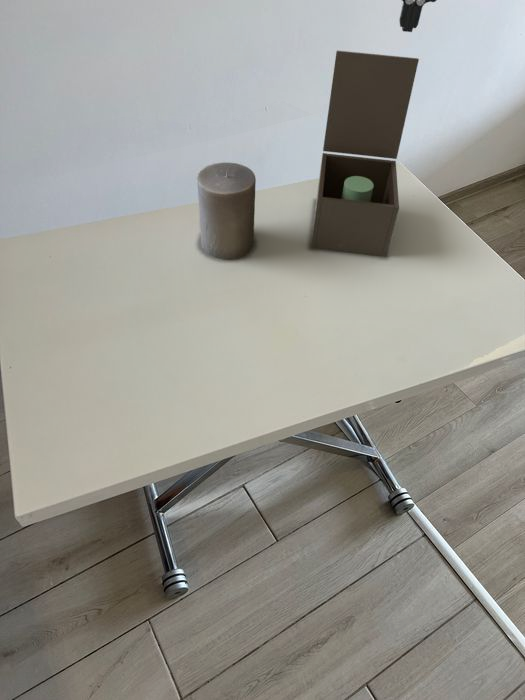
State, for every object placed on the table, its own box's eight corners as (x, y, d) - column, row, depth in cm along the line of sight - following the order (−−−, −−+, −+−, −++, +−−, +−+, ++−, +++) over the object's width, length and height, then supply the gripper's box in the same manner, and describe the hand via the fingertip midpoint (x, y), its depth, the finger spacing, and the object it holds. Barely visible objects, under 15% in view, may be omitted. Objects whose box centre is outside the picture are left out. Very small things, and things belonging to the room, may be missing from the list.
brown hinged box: (385, 259, 96) (399, 208, 88) (310, 250, 97) (317, 198, 89) (383, 210, 106) (395, 160, 98) (315, 203, 107) (322, 152, 99)
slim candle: (367, 223, 102) (377, 181, 95) (358, 237, 99) (368, 194, 92) (342, 215, 103) (350, 173, 96) (332, 228, 100) (340, 186, 93)
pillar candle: (264, 245, 97) (269, 170, 86) (226, 269, 92) (225, 193, 81) (227, 222, 101) (227, 148, 90) (188, 244, 96) (183, 168, 85)
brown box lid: (418, 59, 87) (418, 58, 88) (336, 51, 88) (336, 50, 89) (396, 159, 97) (396, 157, 98) (322, 151, 98) (323, 149, 99)
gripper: (392, -114, 69) (365, 34, 82) (495, -104, 68) (451, 43, 81) (390, -123, 74) (364, 18, 87) (486, -114, 73) (445, 26, 86)
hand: (406, 30), depth 84 cm, fingers closed
